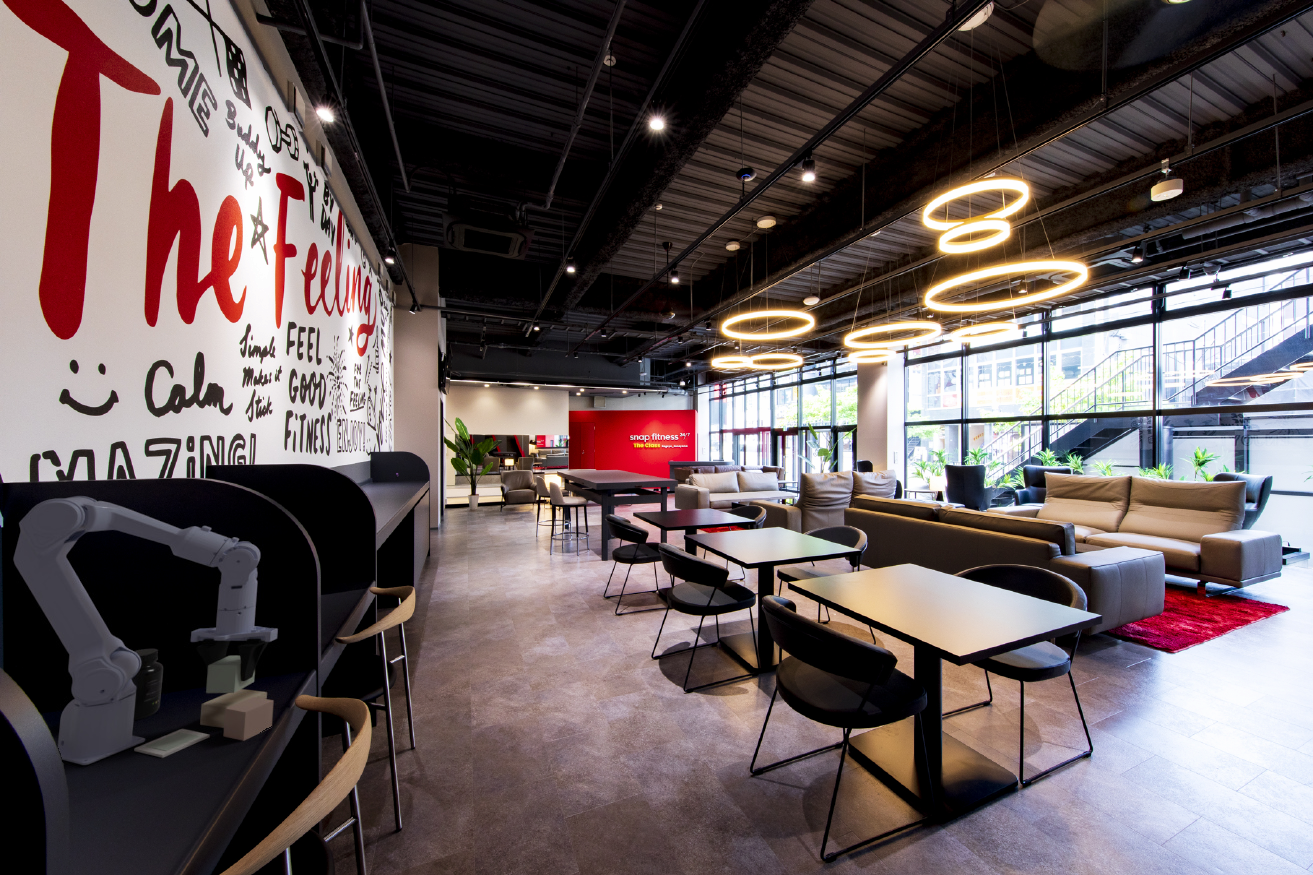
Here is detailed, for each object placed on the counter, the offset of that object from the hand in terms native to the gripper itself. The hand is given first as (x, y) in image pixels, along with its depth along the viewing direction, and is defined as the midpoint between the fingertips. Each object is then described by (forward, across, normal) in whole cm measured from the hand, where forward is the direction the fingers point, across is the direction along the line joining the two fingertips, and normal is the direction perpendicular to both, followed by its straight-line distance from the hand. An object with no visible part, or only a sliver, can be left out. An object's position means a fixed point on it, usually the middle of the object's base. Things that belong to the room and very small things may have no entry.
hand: (231, 679), depth 96 cm
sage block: (+2, 0, 0) cm, 2 cm away
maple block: (+9, -1, +3) cm, 9 cm away
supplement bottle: (+9, -21, +4) cm, 23 cm away
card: (+8, -4, -7) cm, 12 cm away
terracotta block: (+8, +6, -3) cm, 10 cm away
